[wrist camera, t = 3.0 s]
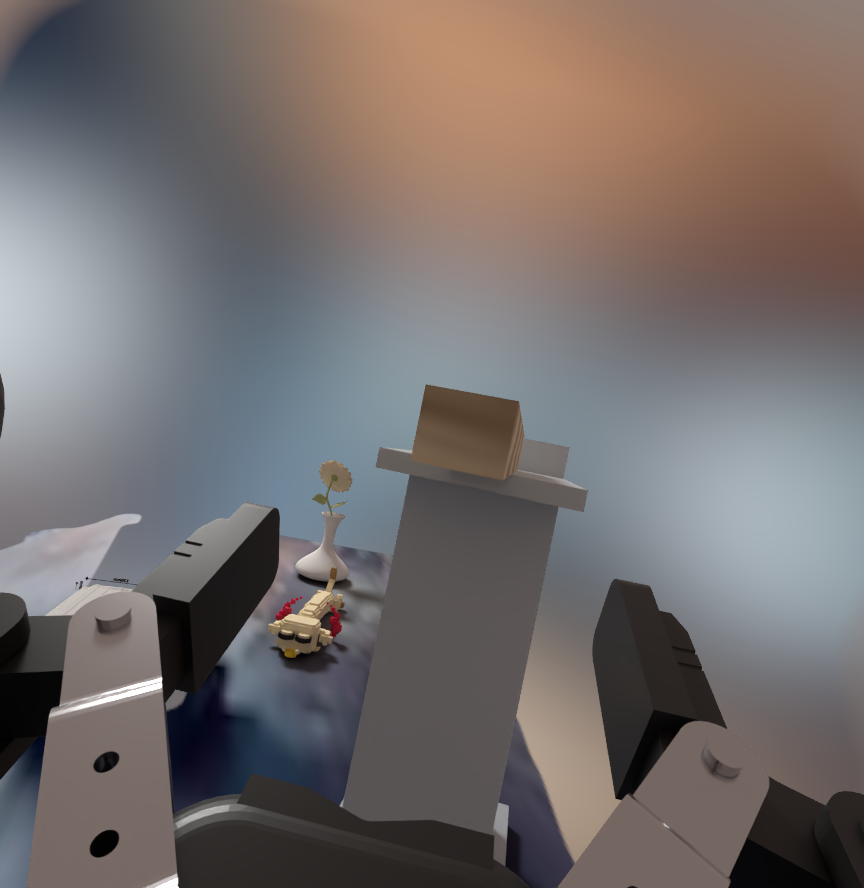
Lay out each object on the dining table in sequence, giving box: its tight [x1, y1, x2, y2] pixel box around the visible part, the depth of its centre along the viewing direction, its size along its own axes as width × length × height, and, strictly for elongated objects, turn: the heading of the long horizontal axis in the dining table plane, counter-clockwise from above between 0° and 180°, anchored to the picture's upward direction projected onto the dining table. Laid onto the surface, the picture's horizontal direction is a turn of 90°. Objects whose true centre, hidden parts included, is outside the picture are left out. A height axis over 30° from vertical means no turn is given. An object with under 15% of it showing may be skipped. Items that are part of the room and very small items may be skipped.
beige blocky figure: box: [267, 567, 345, 658], centre depth 83 cm, size 10×9×25 cm
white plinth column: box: [340, 439, 588, 866], centre depth 40 cm, size 22×14×35 cm, turn 170°
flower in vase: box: [295, 460, 352, 582], centre depth 112 cm, size 13×11×25 cm
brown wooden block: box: [410, 385, 524, 480], centre depth 33 cm, size 26×4×3 cm, turn 170°
